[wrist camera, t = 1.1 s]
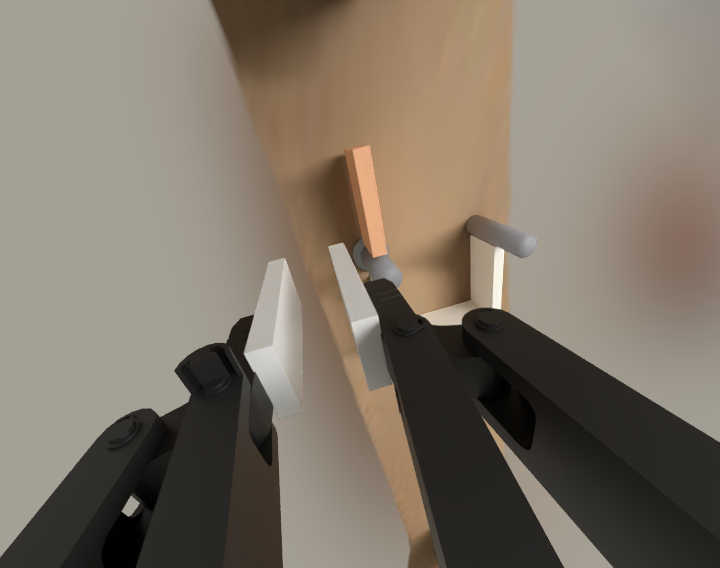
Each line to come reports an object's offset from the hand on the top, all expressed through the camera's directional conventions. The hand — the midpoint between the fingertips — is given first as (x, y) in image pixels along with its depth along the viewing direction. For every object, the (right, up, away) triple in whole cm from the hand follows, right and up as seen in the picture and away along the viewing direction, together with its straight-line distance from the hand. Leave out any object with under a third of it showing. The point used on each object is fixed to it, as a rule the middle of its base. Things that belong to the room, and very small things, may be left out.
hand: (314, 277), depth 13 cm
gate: (+3, +8, +17) cm, 19 cm away
